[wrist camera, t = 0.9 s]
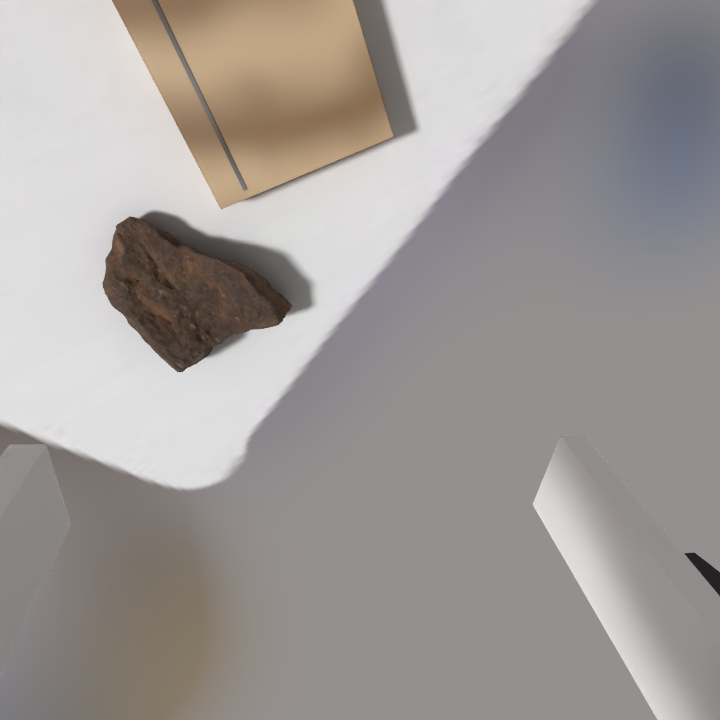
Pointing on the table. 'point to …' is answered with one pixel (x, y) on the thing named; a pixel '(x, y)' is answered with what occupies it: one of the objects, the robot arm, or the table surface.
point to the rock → (184, 294)
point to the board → (260, 85)
